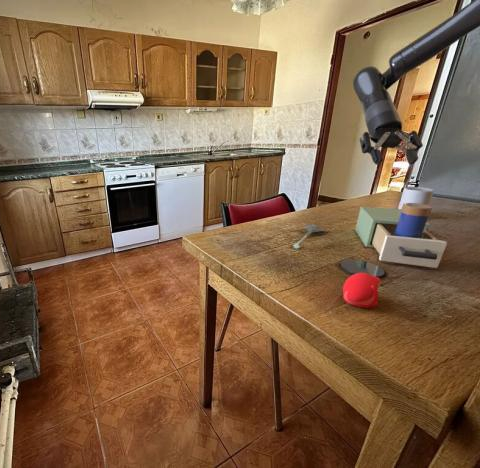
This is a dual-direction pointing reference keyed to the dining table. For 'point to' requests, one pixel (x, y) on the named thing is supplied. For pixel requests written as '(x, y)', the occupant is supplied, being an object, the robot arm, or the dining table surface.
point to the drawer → (407, 247)
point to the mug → (416, 196)
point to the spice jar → (412, 220)
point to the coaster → (362, 267)
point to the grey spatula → (311, 229)
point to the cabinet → (376, 221)
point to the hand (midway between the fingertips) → (396, 162)
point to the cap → (361, 290)
